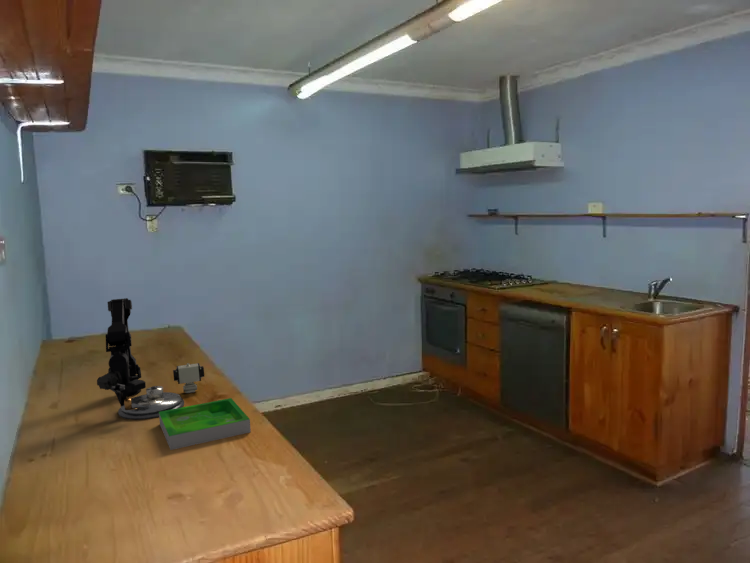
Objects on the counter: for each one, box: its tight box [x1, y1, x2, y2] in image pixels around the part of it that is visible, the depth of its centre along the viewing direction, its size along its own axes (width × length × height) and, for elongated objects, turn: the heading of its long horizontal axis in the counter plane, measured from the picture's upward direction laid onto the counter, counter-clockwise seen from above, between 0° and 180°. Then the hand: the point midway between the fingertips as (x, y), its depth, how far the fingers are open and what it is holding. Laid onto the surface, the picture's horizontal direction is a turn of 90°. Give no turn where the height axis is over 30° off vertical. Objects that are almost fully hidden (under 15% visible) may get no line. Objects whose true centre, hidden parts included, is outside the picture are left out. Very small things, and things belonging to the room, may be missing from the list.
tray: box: [158, 397, 252, 451], centre depth 191 cm, size 25×25×5 cm
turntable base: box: [117, 397, 185, 421], centre depth 213 cm, size 23×23×1 cm
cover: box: [145, 385, 164, 399], centre depth 218 cm, size 6×6×4 cm
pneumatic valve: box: [172, 362, 205, 394], centre depth 231 cm, size 6×12×12 cm, turn 110°
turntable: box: [120, 391, 182, 415], centre depth 213 cm, size 21×21×5 cm
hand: (122, 405), depth 206 cm, fingers closed
